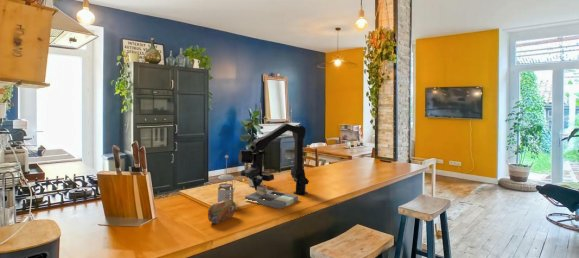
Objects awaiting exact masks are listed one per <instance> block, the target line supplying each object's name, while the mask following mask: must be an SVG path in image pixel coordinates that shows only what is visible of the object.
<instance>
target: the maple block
mask: <svg viewBox="0 0 579 258" xmlns="http://www.w3.org/2000/svg"><path fill="white" fill-rule="evenodd" d="M267 190H268V186H266V185H264V184H263V185H259V186H257V191H256V190H255V192H256V193H257V194H260V195H264V194H266V193H267Z"/></svg>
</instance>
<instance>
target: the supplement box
mask: <svg viewBox="0 0 579 258" xmlns="http://www.w3.org/2000/svg"><path fill="white" fill-rule="evenodd" d="M250 167H251V165H250V166H249V168H250ZM263 171H264V173H265V165H264V166H263ZM264 173H263V174H264ZM259 176H260V175H259ZM260 185H264V180H263V181H262V182H261V184H260ZM252 186H254V184H253V182H252V180H251V179H249V178H248V187H252Z"/></svg>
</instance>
